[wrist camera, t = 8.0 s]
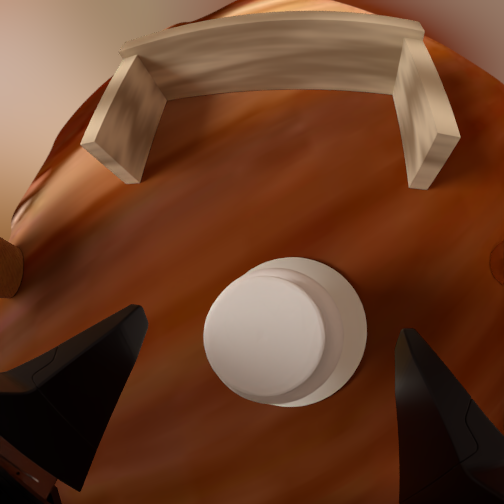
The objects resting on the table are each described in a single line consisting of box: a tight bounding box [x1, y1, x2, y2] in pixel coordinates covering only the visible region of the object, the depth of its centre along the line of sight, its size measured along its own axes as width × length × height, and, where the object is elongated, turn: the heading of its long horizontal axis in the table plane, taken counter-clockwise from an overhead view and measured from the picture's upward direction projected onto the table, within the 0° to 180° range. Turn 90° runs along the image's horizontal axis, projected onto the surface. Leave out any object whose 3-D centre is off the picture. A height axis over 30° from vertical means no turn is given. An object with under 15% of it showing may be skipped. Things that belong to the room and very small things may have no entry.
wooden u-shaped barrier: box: [80, 11, 461, 190], centre depth 20 cm, size 12×26×8 cm, turn 83°
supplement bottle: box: [203, 268, 344, 404], centre depth 14 cm, size 6×6×10 cm
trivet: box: [243, 257, 367, 407], centre depth 19 cm, size 10×10×1 cm
